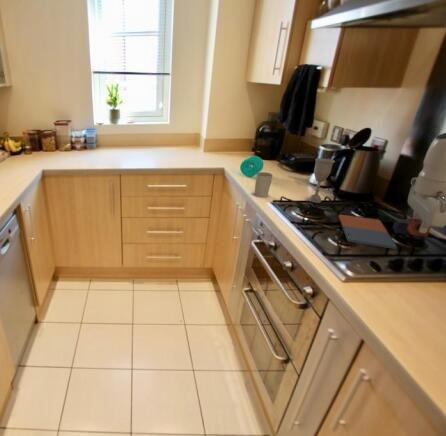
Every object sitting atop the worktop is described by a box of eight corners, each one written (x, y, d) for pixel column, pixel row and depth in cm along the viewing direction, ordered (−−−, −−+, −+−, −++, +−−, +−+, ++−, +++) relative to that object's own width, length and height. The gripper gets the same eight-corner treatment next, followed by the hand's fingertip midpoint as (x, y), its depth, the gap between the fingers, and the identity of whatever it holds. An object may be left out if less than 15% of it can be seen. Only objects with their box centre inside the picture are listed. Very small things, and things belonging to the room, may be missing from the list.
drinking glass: (269, 193, 148) (273, 173, 144) (267, 198, 143) (272, 177, 138) (253, 191, 151) (257, 171, 147) (252, 196, 145) (255, 175, 141)
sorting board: (379, 222, 118) (380, 219, 118) (396, 249, 100) (397, 246, 100) (338, 216, 123) (339, 214, 123) (347, 241, 105) (348, 238, 105)
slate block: (406, 230, 112) (410, 219, 111) (409, 234, 109) (413, 224, 107) (392, 228, 114) (395, 218, 112) (395, 232, 111) (399, 222, 109)
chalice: (302, 199, 141) (311, 159, 133) (311, 196, 144) (321, 157, 136) (317, 204, 135) (328, 163, 127) (327, 201, 138) (338, 161, 130)
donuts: (238, 175, 175) (240, 157, 171) (244, 171, 182) (247, 154, 178) (256, 178, 169) (259, 160, 165) (262, 174, 176) (265, 156, 172)
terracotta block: (422, 231, 102) (426, 220, 100) (427, 236, 99) (431, 225, 97) (406, 229, 104) (410, 218, 102) (410, 234, 100) (415, 223, 99)
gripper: (464, 200, 85) (445, 244, 91) (435, 178, 102) (420, 217, 107) (434, 197, 88) (417, 241, 93) (410, 176, 104) (396, 215, 110)
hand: (418, 228), depth 101 cm, fingers closed on terracotta block, 4 cm apart
